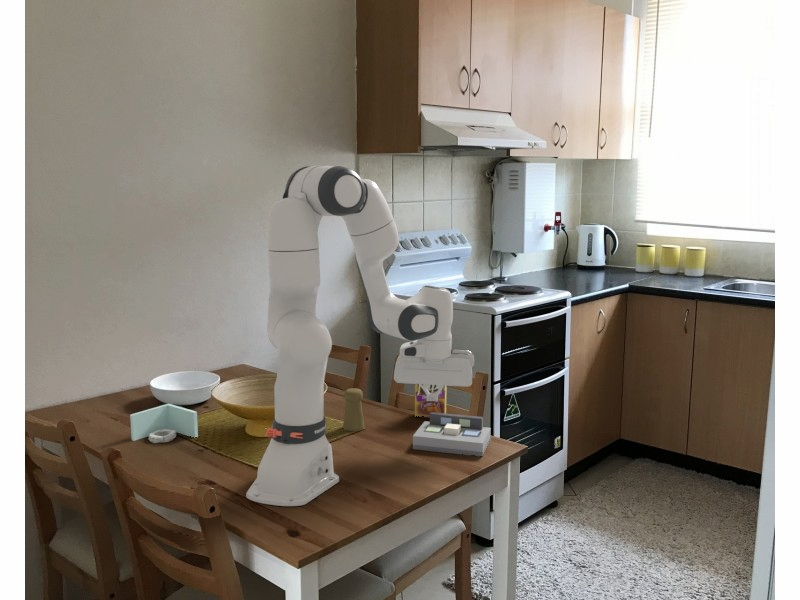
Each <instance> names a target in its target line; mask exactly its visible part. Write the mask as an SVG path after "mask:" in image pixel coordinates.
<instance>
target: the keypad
mask: <svg viewBox="0 0 800 600" xmlns="http://www.w3.org/2000/svg"><path fill="white" fill-rule="evenodd" d="M447 423H448V424H458V425H461V433H460V435H450V434H444V427H445V426H446V425H447ZM428 426H434V427H442V431H441V433H430V432H425V430H426V429H427V428H428ZM491 429H492V428H491V427H486V426H485V427H484V417H483V416H476V415H466V414H465V415H464V414H457V413H456V414H454V413H447V412H446V413H436V412H431V413H430V418H429V421H426V420H424V421H423V422H422V424H420V426H419V427H418V429H417V430H416V431H415V432H414V434H413V435H412V449H413V450H417V451H418V450H419V451H427V452H428V451H429V452H435V453H436V452H437V453H445V454H455V455H462V454H463V456H471V455H475V456H474V457H480V456H483V457H484V455H483V454H485V453H486V451H485V450H487V449H488V447H487V446H489V444H490V442H491V439H492V438H491V437H492V436H491V433H492V432H491ZM465 430H475V431H480V436H479V437H469V436H463V434H464V432H465ZM489 441H490V442H489ZM486 448H487V449H486ZM484 452H485V453H484Z"/></svg>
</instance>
